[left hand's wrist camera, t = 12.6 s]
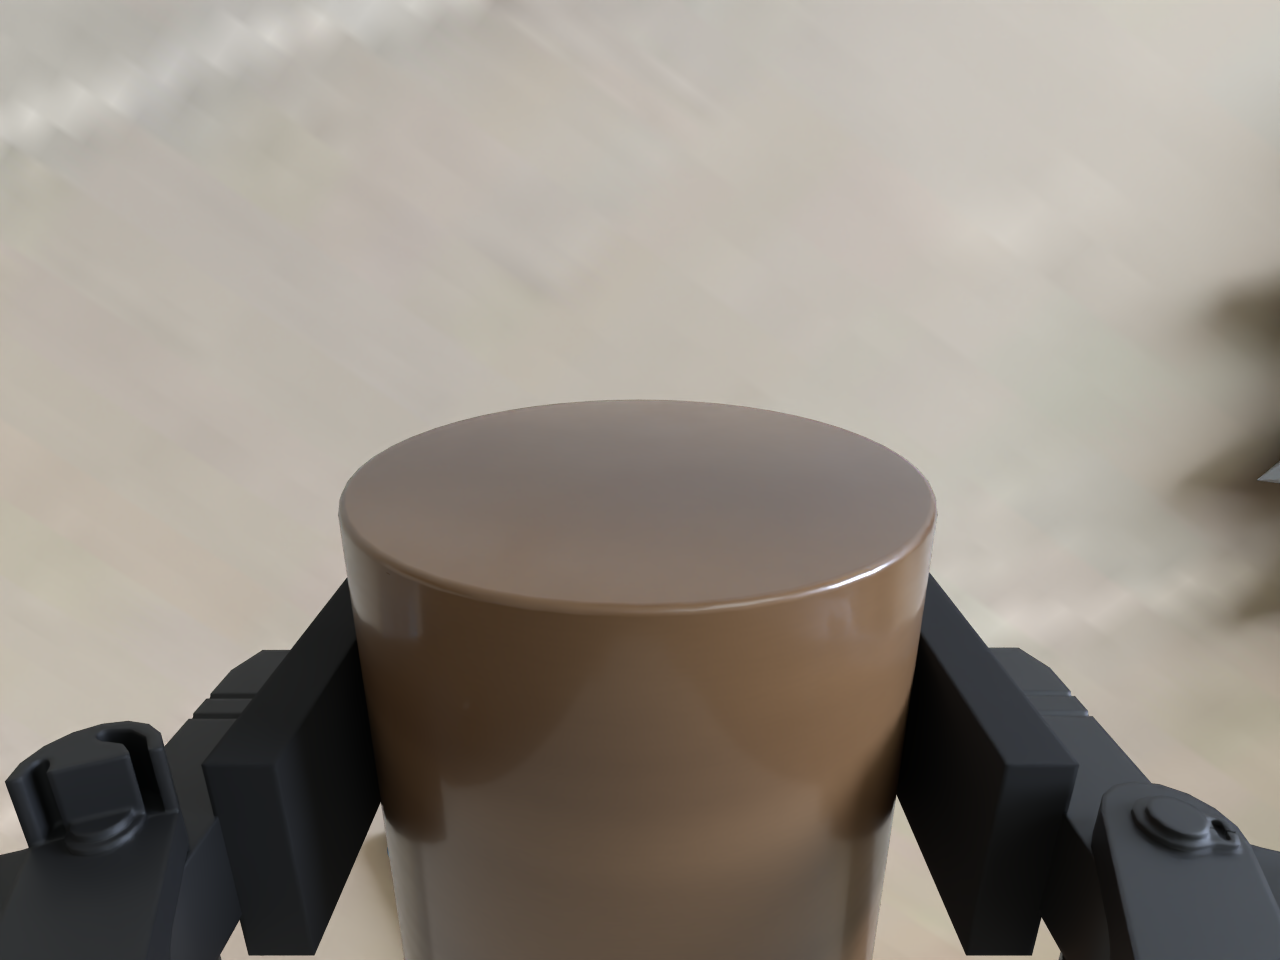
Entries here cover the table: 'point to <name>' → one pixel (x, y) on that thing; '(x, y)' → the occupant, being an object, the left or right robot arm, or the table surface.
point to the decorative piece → (1272, 474)
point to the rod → (638, 678)
